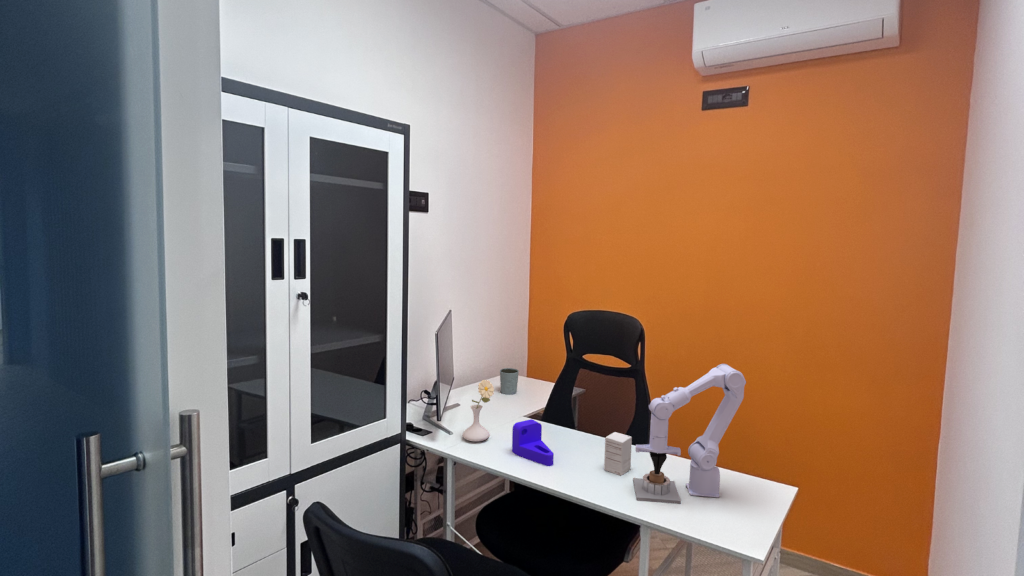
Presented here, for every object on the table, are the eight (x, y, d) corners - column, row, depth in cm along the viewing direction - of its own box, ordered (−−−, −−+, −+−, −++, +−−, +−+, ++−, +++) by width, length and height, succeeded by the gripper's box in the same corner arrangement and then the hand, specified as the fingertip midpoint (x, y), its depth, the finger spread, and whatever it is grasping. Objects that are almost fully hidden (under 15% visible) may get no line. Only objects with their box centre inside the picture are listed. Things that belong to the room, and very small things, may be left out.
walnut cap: (662, 486, 187) (663, 470, 186) (664, 493, 182) (665, 476, 181) (648, 485, 187) (648, 469, 187) (649, 491, 183) (650, 475, 182)
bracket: (512, 452, 215) (512, 423, 214) (534, 446, 221) (534, 418, 220) (539, 469, 200) (540, 438, 199) (562, 462, 206) (563, 432, 205)
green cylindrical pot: (509, 388, 299) (509, 367, 297) (522, 392, 291) (522, 370, 290) (495, 392, 292) (495, 370, 291) (508, 396, 284) (508, 374, 283)
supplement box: (613, 463, 206) (614, 431, 205) (631, 469, 202) (632, 436, 200) (603, 470, 201) (604, 436, 199) (621, 476, 196) (623, 442, 195)
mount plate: (673, 483, 191) (674, 481, 191) (680, 503, 177) (681, 500, 177) (632, 480, 193) (633, 477, 193) (636, 500, 179) (636, 497, 179)
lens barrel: (667, 483, 189) (668, 474, 188) (671, 496, 180) (672, 486, 179) (641, 481, 190) (641, 472, 189) (644, 494, 181) (644, 484, 181)
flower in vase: (466, 445, 220) (467, 385, 218) (459, 435, 231) (459, 377, 228) (497, 441, 225) (498, 382, 222) (488, 431, 236) (489, 375, 233)
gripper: (679, 431, 186) (676, 470, 187) (635, 428, 187) (633, 466, 189) (682, 439, 179) (680, 479, 180) (637, 436, 181) (635, 475, 182)
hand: (656, 473), depth 184 cm, fingers closed, pressing on walnut cap
